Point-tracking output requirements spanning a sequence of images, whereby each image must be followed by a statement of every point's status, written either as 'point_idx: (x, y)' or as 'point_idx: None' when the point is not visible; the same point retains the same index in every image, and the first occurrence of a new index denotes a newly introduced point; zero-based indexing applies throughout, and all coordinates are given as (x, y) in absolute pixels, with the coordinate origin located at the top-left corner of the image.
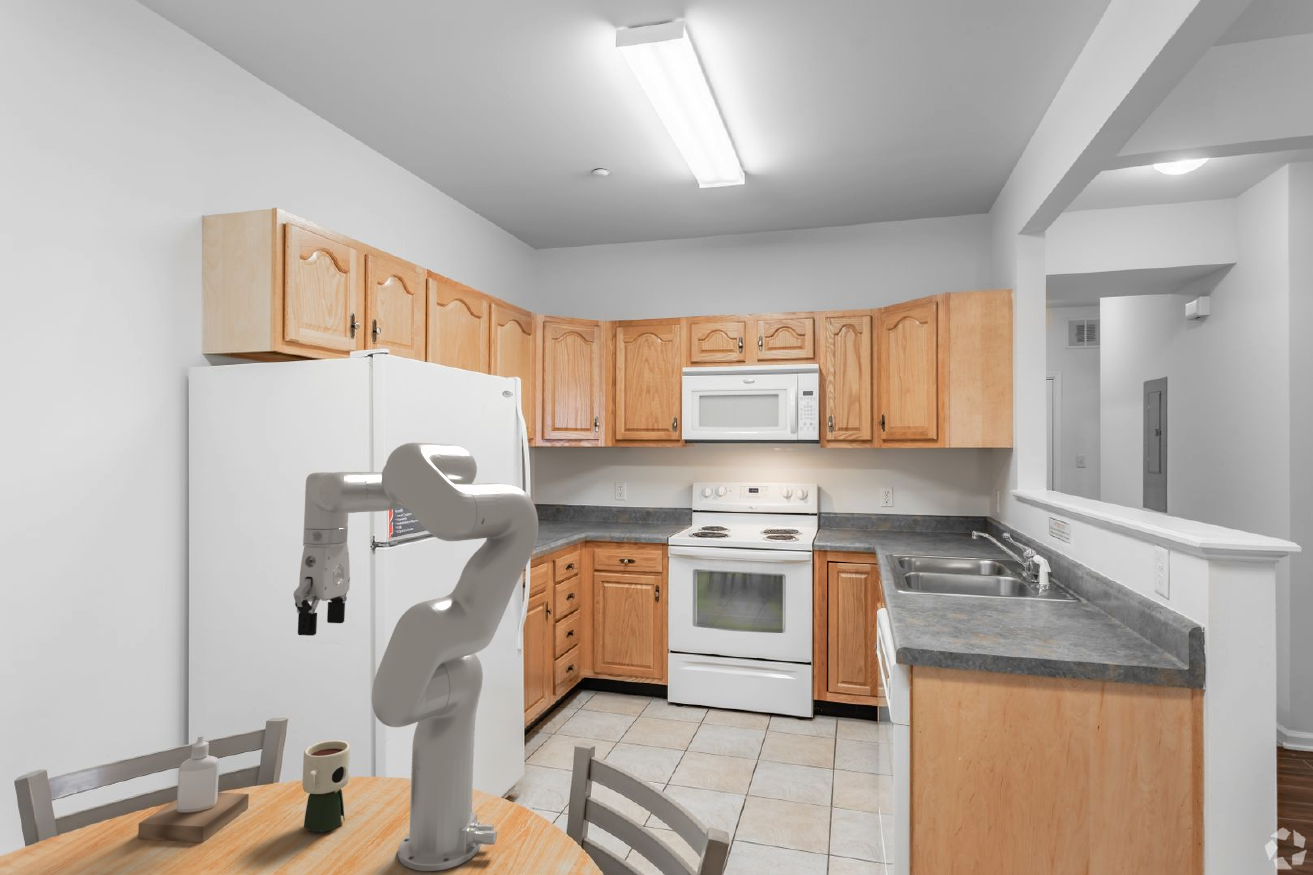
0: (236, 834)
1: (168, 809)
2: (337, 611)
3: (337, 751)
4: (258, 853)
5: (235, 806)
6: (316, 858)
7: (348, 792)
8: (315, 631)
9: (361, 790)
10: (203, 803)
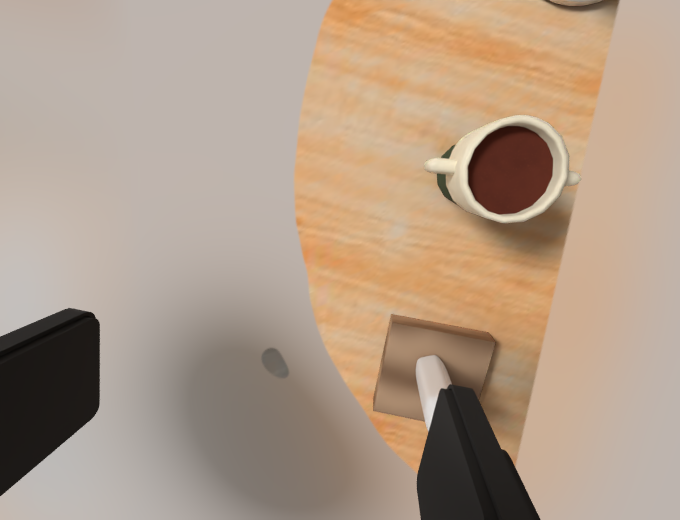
0: (471, 297)
1: None
2: (21, 396)
3: (483, 155)
4: (535, 243)
5: (422, 326)
6: (569, 148)
7: (349, 174)
8: (469, 396)
9: (343, 153)
10: (446, 370)
